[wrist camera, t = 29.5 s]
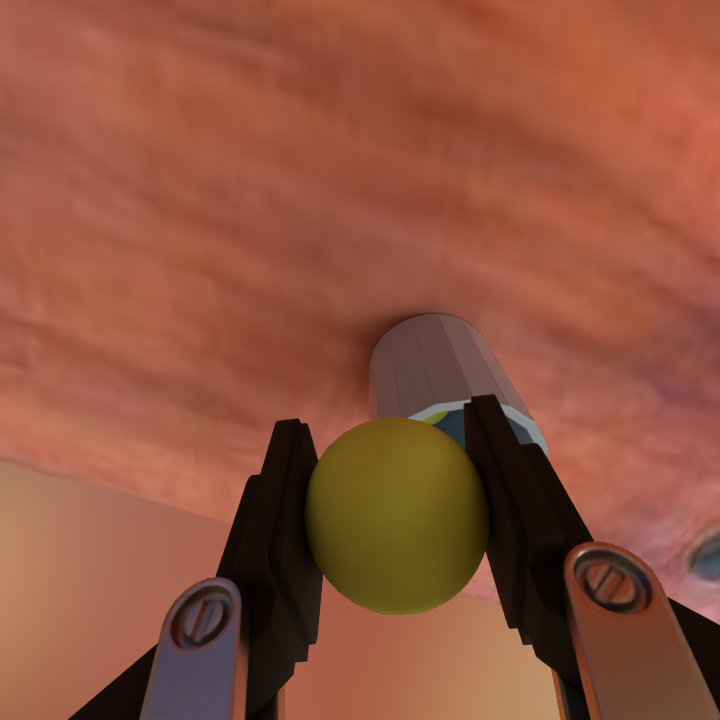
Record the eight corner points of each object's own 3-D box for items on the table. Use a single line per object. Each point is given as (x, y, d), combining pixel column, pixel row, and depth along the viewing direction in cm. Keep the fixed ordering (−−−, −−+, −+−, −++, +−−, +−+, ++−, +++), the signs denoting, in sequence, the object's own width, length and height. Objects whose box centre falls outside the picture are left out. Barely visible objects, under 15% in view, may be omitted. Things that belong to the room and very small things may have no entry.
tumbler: (359, 324, 27) (359, 414, 18) (489, 303, 26) (552, 388, 18) (378, 424, 31) (385, 536, 22) (490, 408, 30) (542, 519, 22)
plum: (298, 394, 10) (263, 539, 6) (463, 373, 10) (522, 512, 6) (330, 506, 12) (316, 663, 8) (468, 492, 11) (514, 648, 8)
